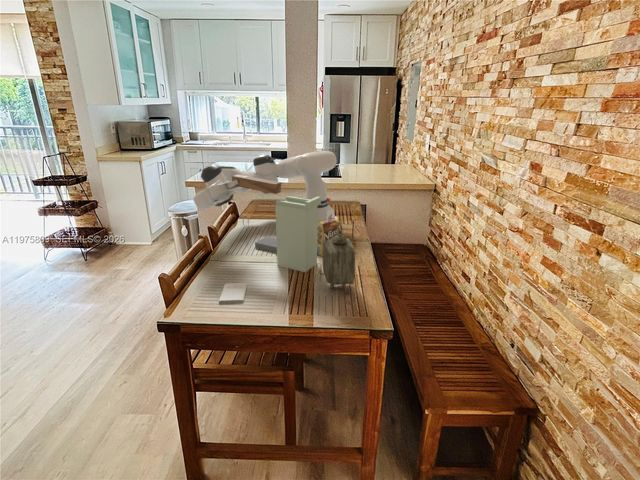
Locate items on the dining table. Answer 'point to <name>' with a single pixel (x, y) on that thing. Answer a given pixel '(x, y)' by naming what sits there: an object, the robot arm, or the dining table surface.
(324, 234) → the candy box
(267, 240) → the grey board
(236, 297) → the external hard drive
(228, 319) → the dining table surface
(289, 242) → the shelf block
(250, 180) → the slim box
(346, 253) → the grey-green rolling suitcase
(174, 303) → the dining table surface
